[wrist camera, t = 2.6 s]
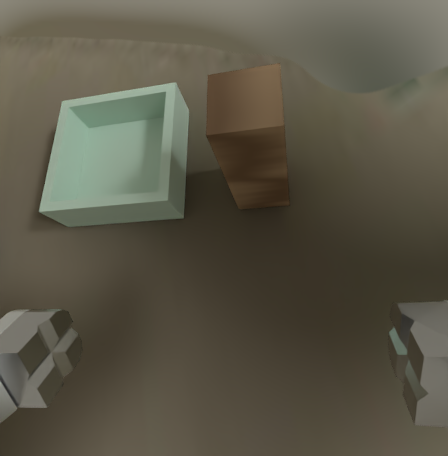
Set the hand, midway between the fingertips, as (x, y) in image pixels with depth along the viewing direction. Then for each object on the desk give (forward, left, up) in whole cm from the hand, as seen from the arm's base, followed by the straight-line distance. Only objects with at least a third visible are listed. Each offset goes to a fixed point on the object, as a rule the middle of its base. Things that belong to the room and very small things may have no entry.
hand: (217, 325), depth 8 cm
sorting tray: (+12, -15, -15) cm, 25 cm away
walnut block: (0, -12, -15) cm, 19 cm away
